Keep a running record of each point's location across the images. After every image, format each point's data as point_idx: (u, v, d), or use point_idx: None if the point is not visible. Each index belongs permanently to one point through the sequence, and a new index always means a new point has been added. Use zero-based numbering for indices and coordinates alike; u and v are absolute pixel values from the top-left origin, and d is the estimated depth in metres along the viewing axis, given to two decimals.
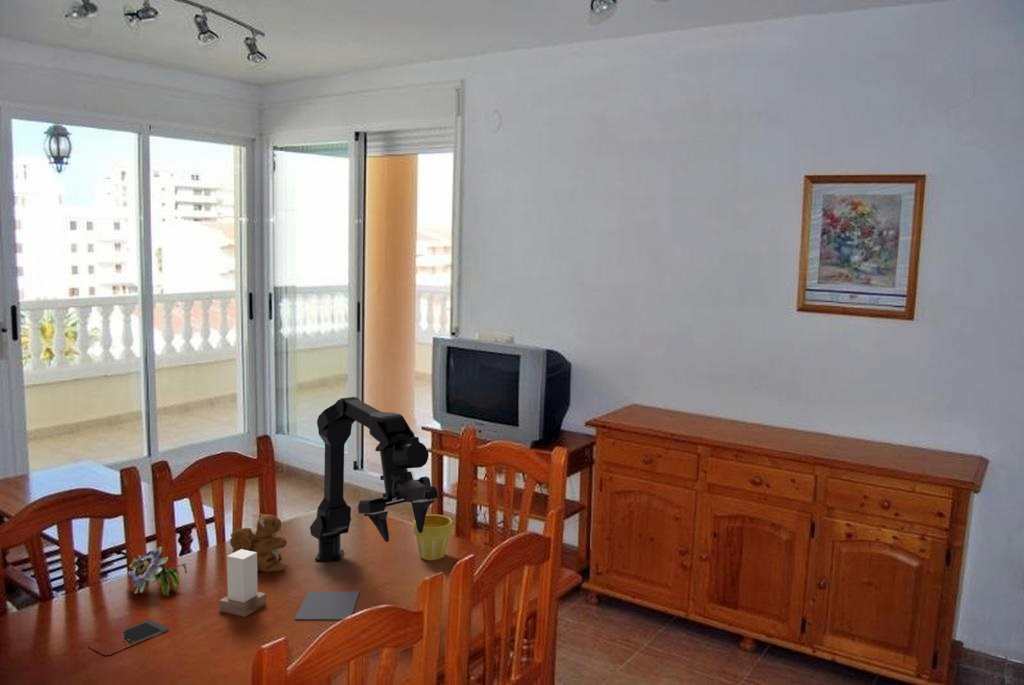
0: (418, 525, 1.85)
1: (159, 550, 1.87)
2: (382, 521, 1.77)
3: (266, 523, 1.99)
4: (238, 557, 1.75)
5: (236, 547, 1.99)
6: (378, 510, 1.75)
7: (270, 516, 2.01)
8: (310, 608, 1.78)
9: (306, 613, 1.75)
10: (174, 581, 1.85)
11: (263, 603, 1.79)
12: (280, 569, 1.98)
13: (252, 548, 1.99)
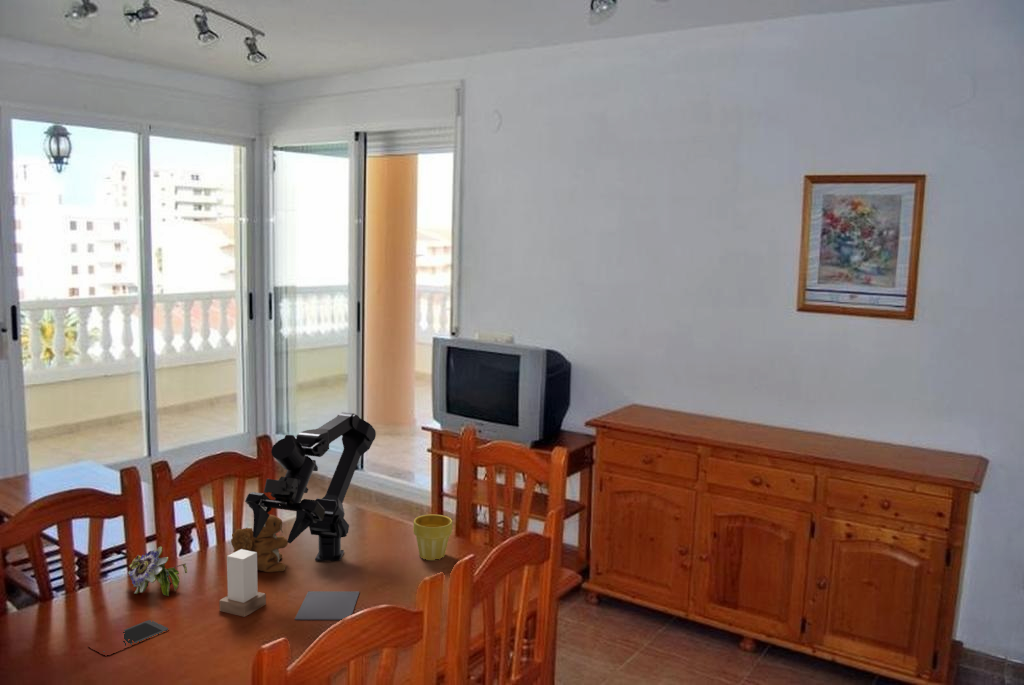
0: None
1: (159, 550, 1.87)
2: (255, 514, 1.86)
3: (267, 523, 1.99)
4: (238, 557, 1.75)
5: (237, 547, 1.99)
6: (250, 500, 1.87)
7: (271, 516, 2.01)
8: (310, 608, 1.78)
9: (306, 613, 1.75)
10: (174, 581, 1.85)
11: (263, 603, 1.79)
12: (281, 569, 1.98)
13: (253, 548, 1.99)
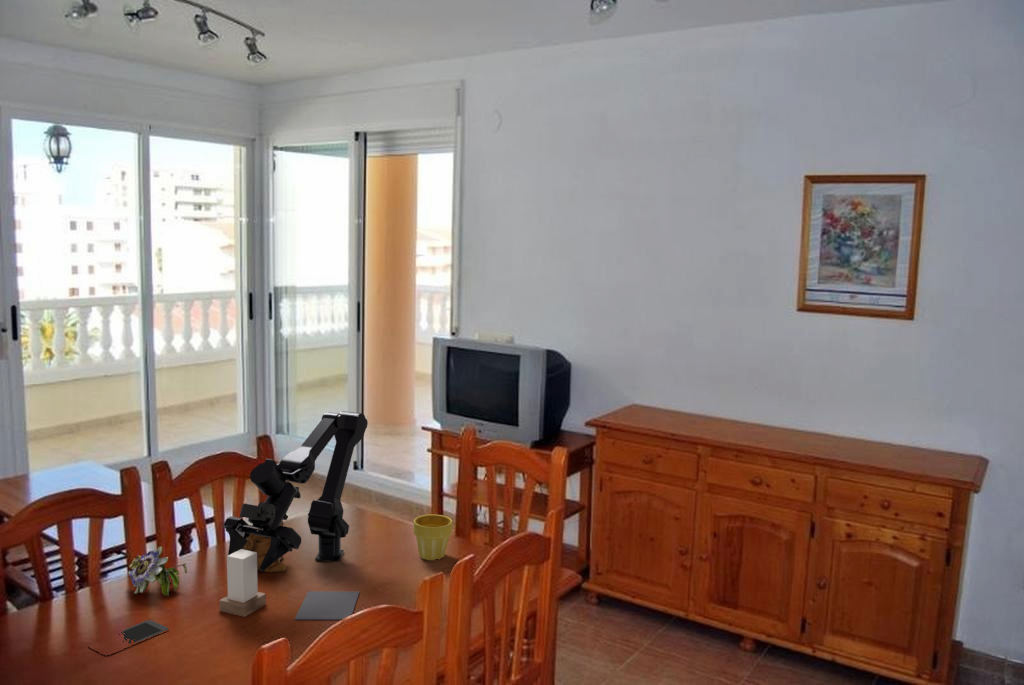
0: None
1: (159, 550, 1.87)
2: (231, 540, 1.82)
3: None
4: (238, 557, 1.75)
5: None
6: (227, 524, 1.83)
7: None
8: (310, 608, 1.78)
9: (306, 613, 1.75)
10: (174, 581, 1.85)
11: (263, 603, 1.79)
12: (282, 569, 1.98)
13: (254, 548, 1.99)
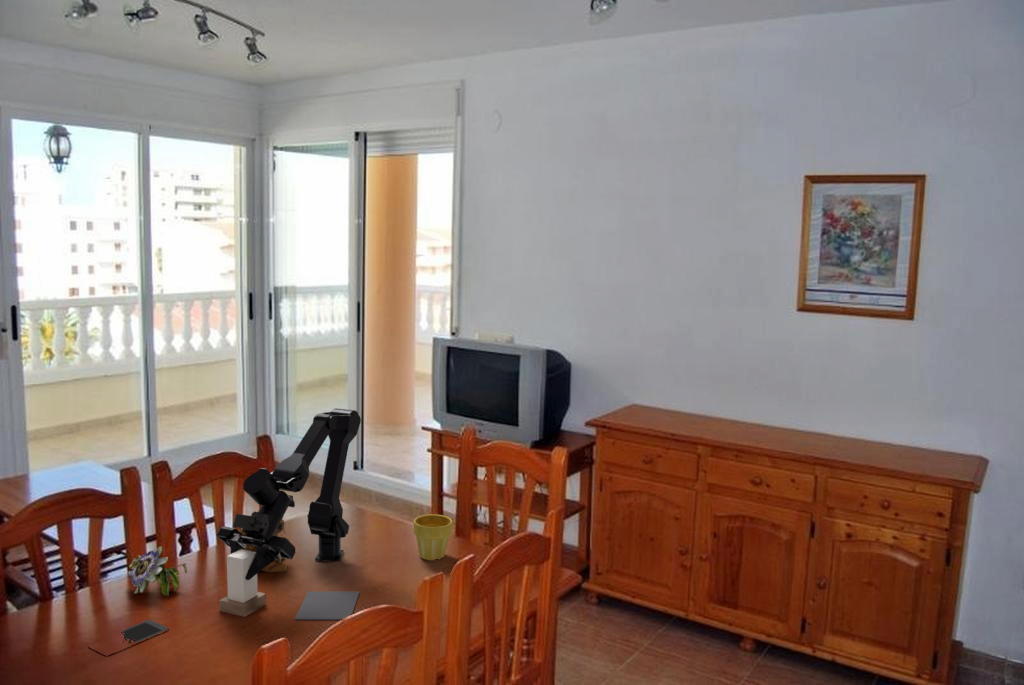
0: None
1: (159, 550, 1.87)
2: (232, 551, 1.79)
3: None
4: (238, 557, 1.75)
5: None
6: (221, 534, 1.81)
7: None
8: (310, 608, 1.78)
9: (306, 613, 1.75)
10: (174, 581, 1.85)
11: (263, 603, 1.79)
12: (283, 569, 1.98)
13: (255, 548, 1.99)
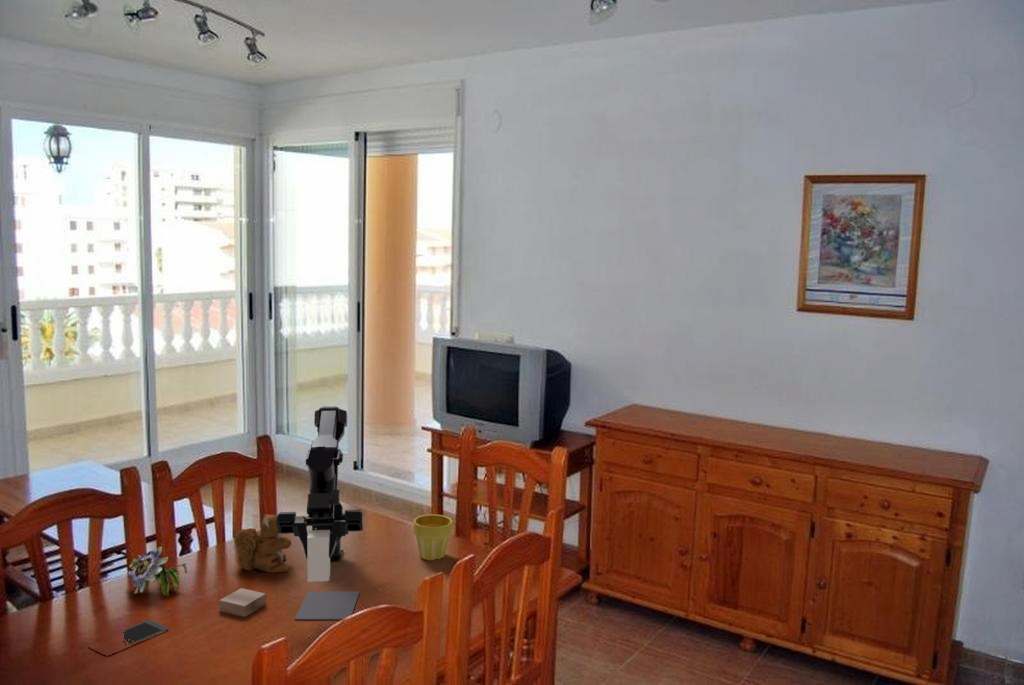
0: None
1: (159, 550, 1.87)
2: (301, 534, 1.75)
3: (271, 523, 1.99)
4: (320, 536, 1.72)
5: (241, 547, 1.99)
6: (284, 520, 1.74)
7: (275, 517, 2.01)
8: (310, 608, 1.78)
9: (306, 613, 1.75)
10: (174, 581, 1.85)
11: (263, 603, 1.79)
12: (284, 570, 1.98)
13: (257, 548, 1.99)
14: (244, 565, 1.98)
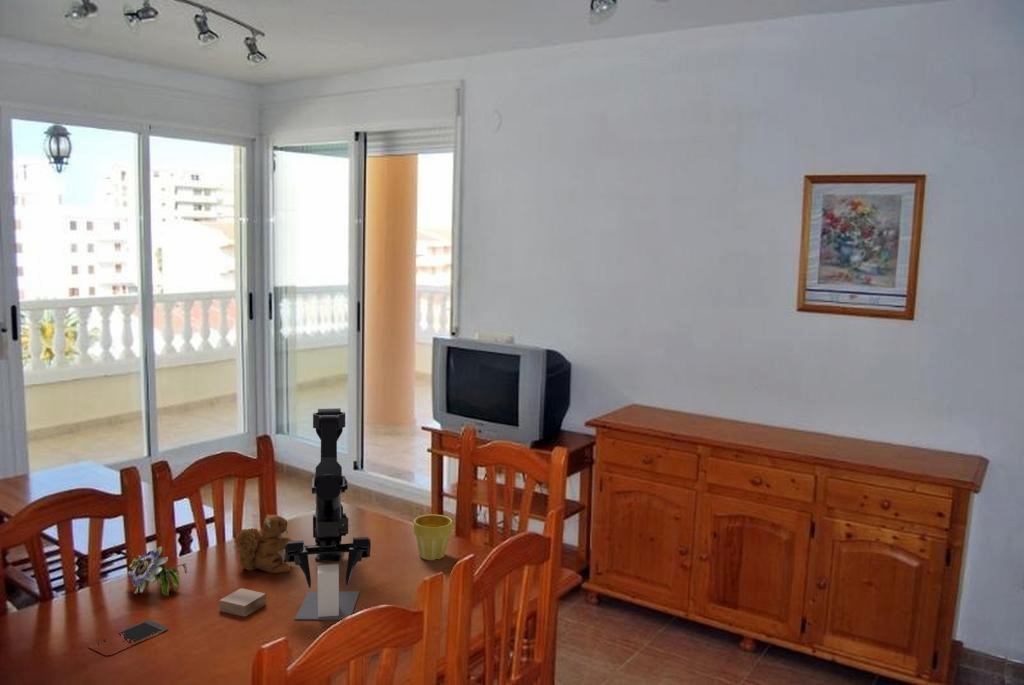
0: None
1: (159, 550, 1.87)
2: (303, 563, 1.75)
3: (272, 524, 1.99)
4: (330, 571, 1.74)
5: (242, 547, 1.99)
6: (293, 549, 1.75)
7: (276, 517, 2.01)
8: (310, 608, 1.78)
9: (306, 613, 1.75)
10: (174, 581, 1.85)
11: (263, 603, 1.79)
12: (286, 570, 1.98)
13: (258, 549, 1.99)
14: (246, 565, 1.98)
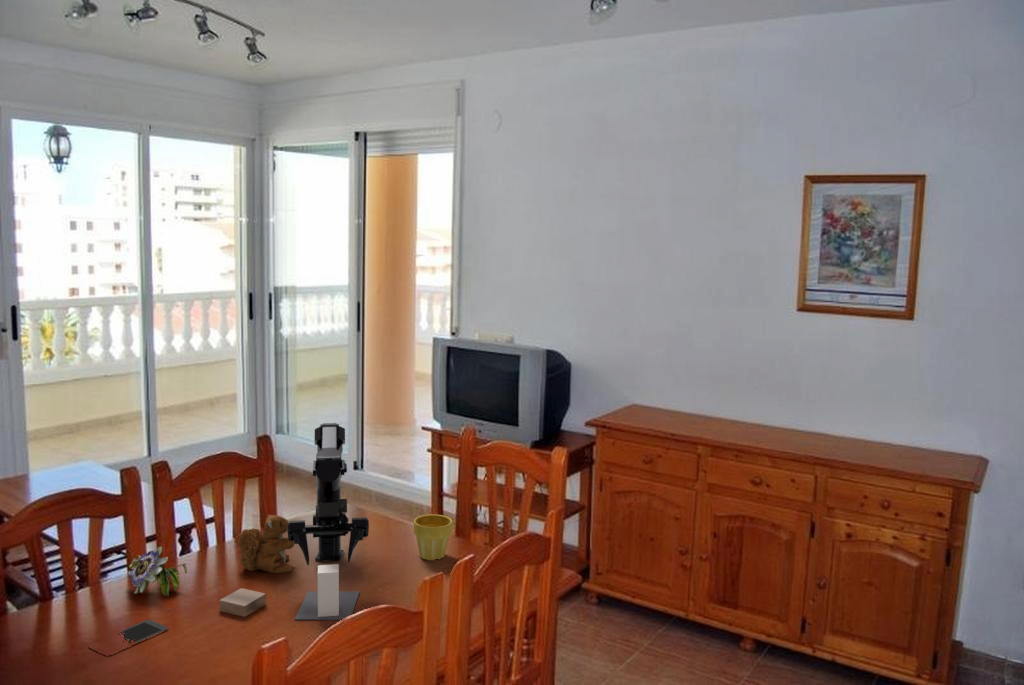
0: None
1: (159, 550, 1.87)
2: (302, 542, 1.84)
3: (273, 524, 1.99)
4: (330, 571, 1.74)
5: (244, 548, 1.98)
6: (295, 528, 1.84)
7: (278, 517, 2.00)
8: (310, 608, 1.78)
9: (306, 613, 1.75)
10: (174, 581, 1.85)
11: (263, 603, 1.79)
12: (287, 570, 1.98)
13: (259, 549, 1.99)
14: (247, 565, 1.97)
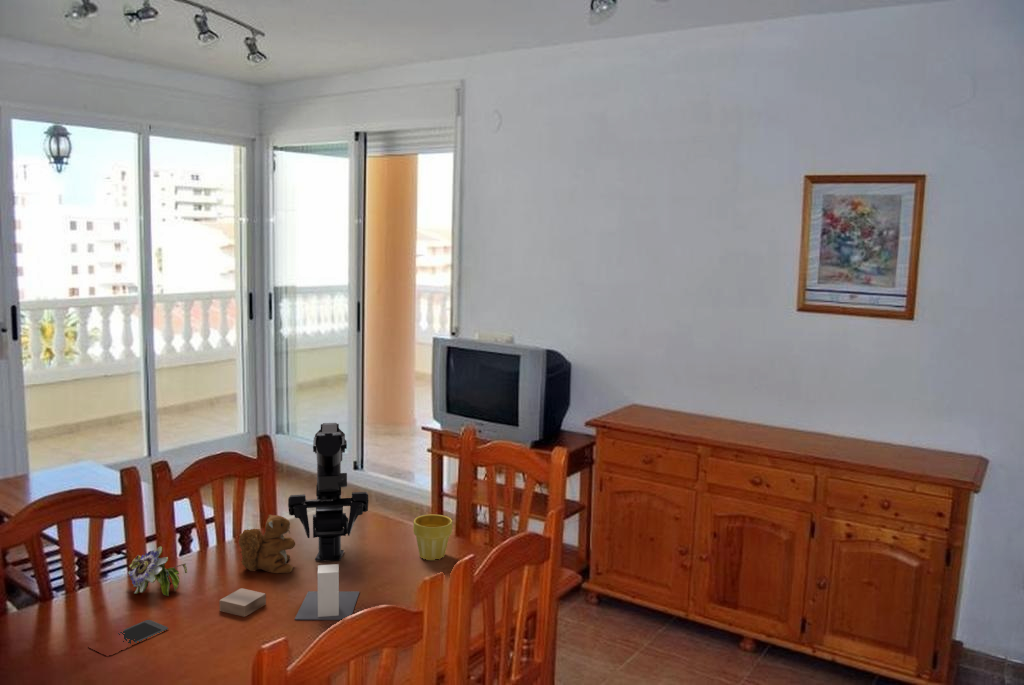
0: (347, 528, 1.88)
1: (159, 550, 1.87)
2: (302, 515, 1.86)
3: (274, 524, 1.99)
4: (330, 571, 1.74)
5: (245, 548, 1.98)
6: (295, 502, 1.87)
7: (279, 517, 2.00)
8: (310, 608, 1.78)
9: (306, 613, 1.75)
10: (174, 581, 1.85)
11: (263, 603, 1.79)
12: (288, 570, 1.98)
13: (260, 549, 1.99)
14: (248, 565, 1.97)
